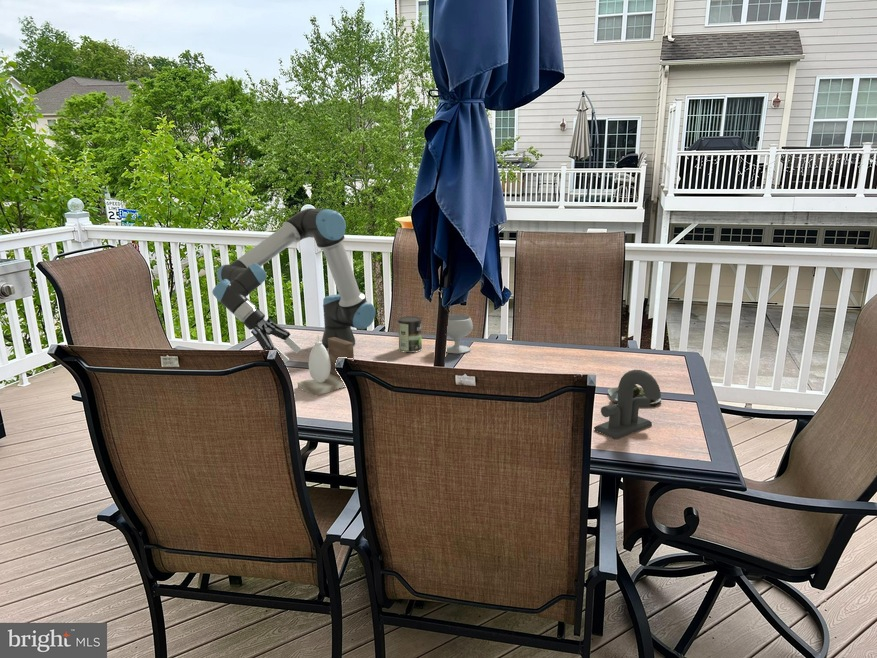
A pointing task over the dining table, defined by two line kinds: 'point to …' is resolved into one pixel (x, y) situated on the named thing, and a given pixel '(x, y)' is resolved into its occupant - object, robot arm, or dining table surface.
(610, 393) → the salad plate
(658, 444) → the dining table surface
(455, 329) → the chalice
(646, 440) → the dining table surface
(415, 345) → the coffee can
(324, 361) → the sauce bottle
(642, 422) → the faucet
